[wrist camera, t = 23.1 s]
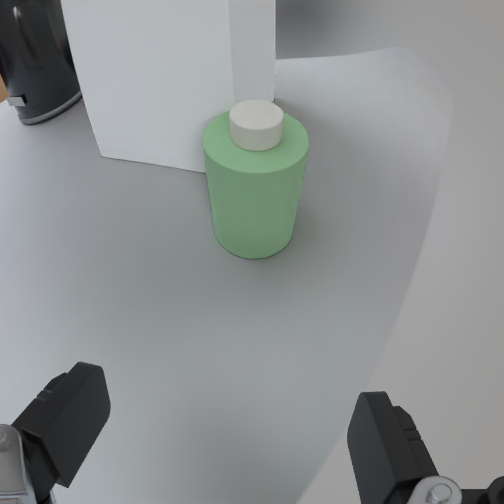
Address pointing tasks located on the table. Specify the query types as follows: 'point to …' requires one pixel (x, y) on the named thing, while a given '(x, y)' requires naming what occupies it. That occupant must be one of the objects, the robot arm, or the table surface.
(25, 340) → the table surface
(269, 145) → the soap bottle
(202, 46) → the milk
